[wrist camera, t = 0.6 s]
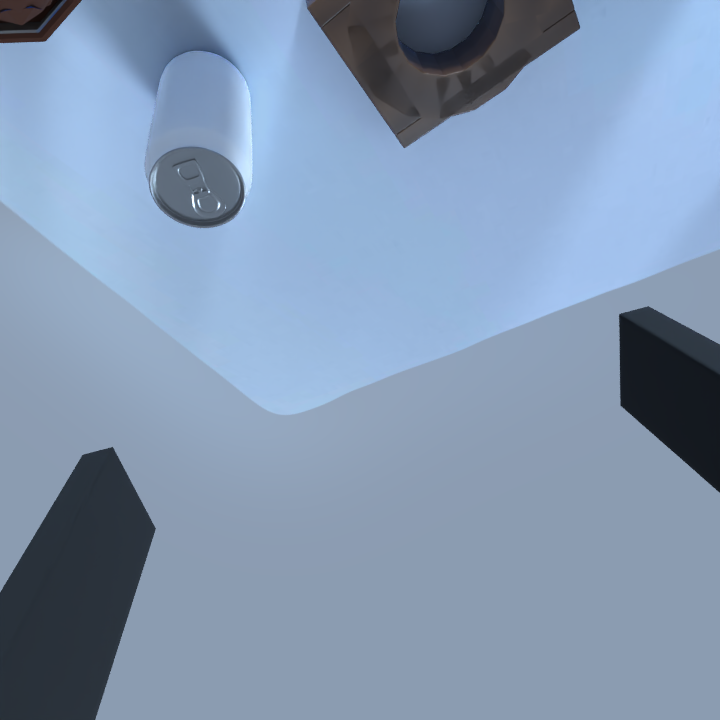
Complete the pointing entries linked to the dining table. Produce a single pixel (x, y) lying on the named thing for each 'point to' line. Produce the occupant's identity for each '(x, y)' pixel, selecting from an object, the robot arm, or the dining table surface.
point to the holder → (439, 57)
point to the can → (200, 141)
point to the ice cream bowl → (32, 19)
